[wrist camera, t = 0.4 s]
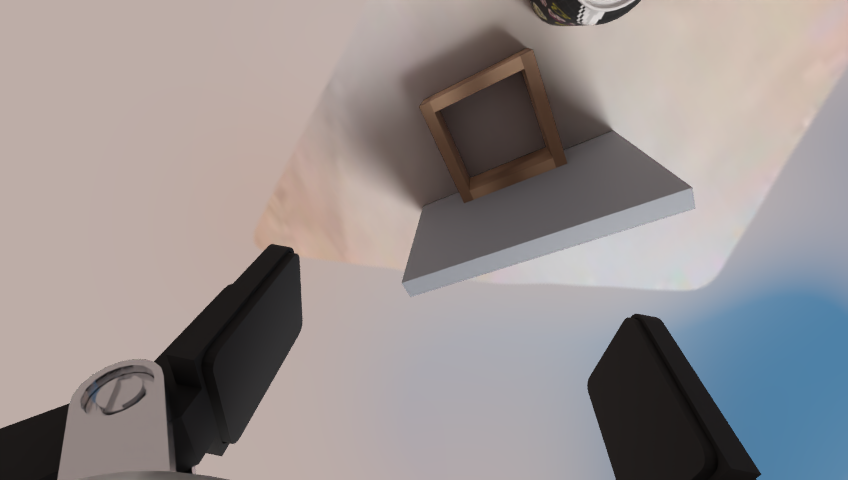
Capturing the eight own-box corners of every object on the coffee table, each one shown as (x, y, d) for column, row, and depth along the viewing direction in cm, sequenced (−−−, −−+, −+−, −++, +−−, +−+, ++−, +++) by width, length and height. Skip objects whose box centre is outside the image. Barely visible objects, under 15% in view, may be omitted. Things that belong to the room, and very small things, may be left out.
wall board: (613, 130, 33) (692, 187, 21) (616, 145, 34) (695, 208, 22) (423, 206, 39) (401, 283, 28) (429, 217, 40) (410, 297, 28)
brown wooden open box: (526, 47, 31) (532, 49, 28) (559, 151, 35) (567, 163, 32) (423, 99, 34) (419, 106, 31) (464, 189, 38) (464, 203, 35)
